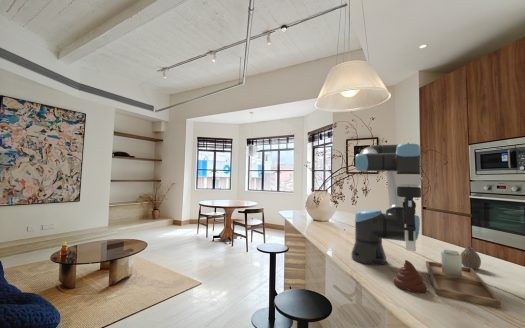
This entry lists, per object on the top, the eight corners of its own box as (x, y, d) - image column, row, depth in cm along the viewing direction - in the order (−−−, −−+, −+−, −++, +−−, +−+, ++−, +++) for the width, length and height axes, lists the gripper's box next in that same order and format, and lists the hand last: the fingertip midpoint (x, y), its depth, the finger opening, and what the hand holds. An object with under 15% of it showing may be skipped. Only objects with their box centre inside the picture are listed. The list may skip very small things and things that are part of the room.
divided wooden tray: (435, 294, 79) (435, 288, 79) (425, 265, 106) (425, 260, 106) (500, 308, 71) (500, 301, 71) (471, 272, 98) (471, 268, 98)
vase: (485, 271, 100) (484, 250, 100) (466, 270, 101) (465, 249, 102) (474, 265, 107) (473, 246, 107) (456, 264, 108) (456, 245, 108)
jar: (443, 274, 94) (442, 251, 94) (440, 269, 99) (440, 247, 100) (463, 278, 91) (463, 254, 91) (460, 272, 96) (459, 250, 97)
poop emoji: (391, 287, 84) (390, 260, 84) (396, 279, 90) (395, 254, 91) (425, 296, 77) (424, 267, 78) (428, 288, 84) (427, 261, 84)
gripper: (424, 187, 73) (426, 257, 72) (418, 186, 95) (419, 240, 93) (396, 186, 77) (398, 252, 75) (396, 185, 99) (397, 237, 97)
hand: (409, 245), depth 84 cm, fingers open, 13 cm apart
